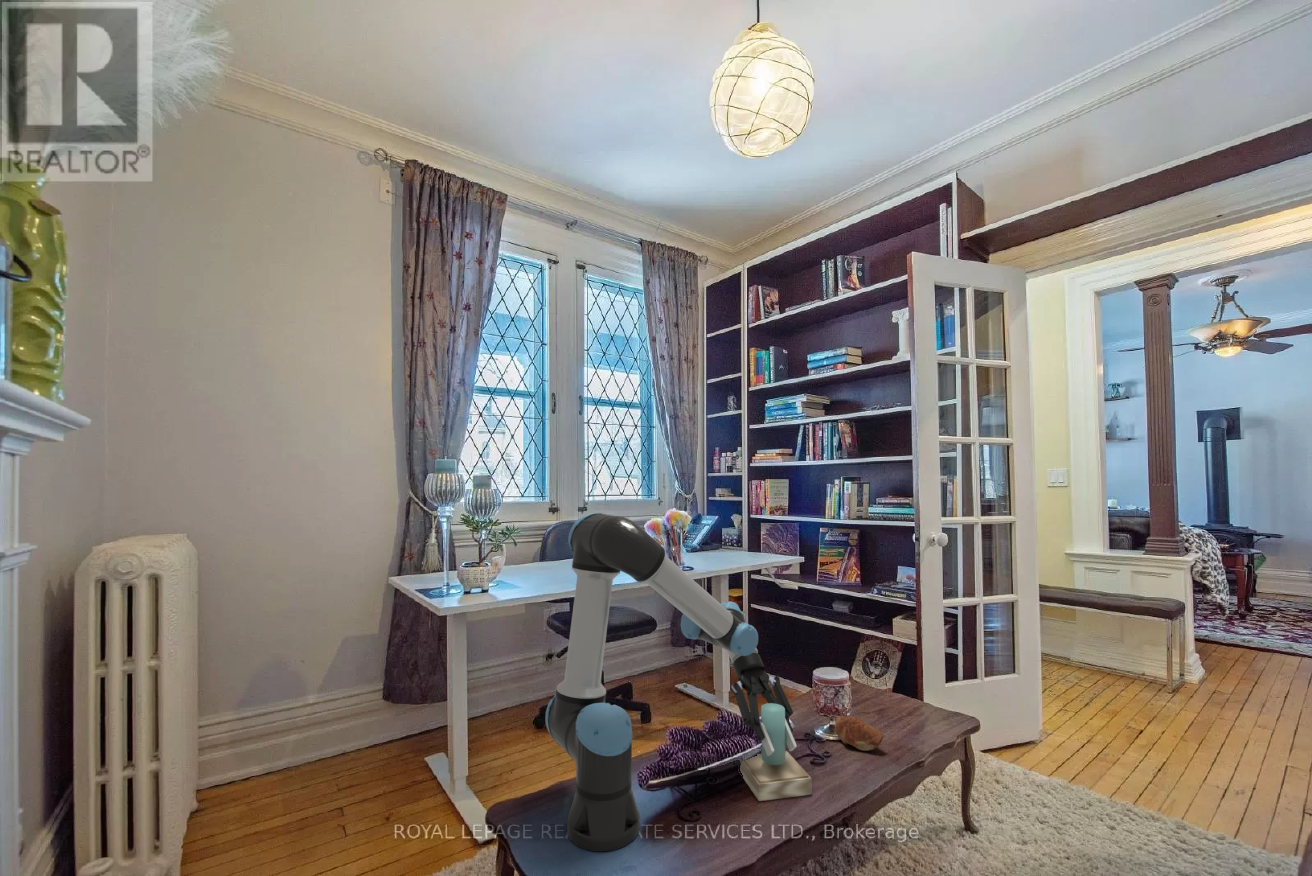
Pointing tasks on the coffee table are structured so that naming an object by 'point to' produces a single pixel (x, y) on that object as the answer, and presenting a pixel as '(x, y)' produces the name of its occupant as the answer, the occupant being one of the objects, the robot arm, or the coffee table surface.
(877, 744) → the bread roll
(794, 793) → the block
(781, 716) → the teal pillar
